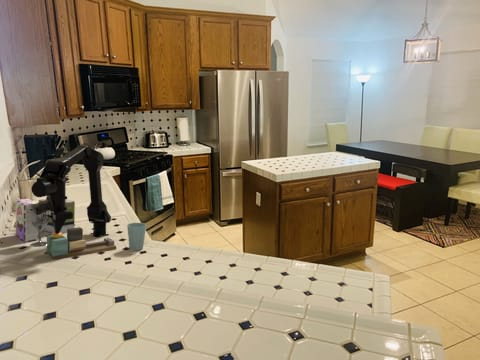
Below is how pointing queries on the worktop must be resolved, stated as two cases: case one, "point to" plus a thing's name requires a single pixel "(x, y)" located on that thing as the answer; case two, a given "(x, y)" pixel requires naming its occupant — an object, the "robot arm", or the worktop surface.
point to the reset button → (56, 235)
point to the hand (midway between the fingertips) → (57, 233)
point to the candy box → (25, 220)
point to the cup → (136, 235)
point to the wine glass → (39, 225)
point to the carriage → (75, 239)
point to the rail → (59, 250)
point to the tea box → (68, 223)
